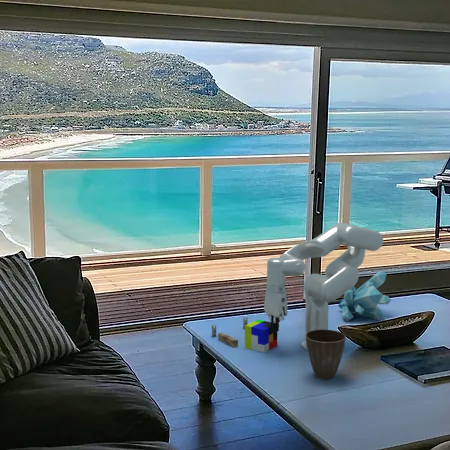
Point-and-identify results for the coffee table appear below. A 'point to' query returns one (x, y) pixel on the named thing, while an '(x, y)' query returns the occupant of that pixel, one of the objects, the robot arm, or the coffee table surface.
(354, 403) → the coffee table surface
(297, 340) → the coffee table surface
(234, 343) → the walnut channel
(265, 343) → the puzzle toy
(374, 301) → the crystal cluster
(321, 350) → the plant pot
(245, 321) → the slate goal posts
